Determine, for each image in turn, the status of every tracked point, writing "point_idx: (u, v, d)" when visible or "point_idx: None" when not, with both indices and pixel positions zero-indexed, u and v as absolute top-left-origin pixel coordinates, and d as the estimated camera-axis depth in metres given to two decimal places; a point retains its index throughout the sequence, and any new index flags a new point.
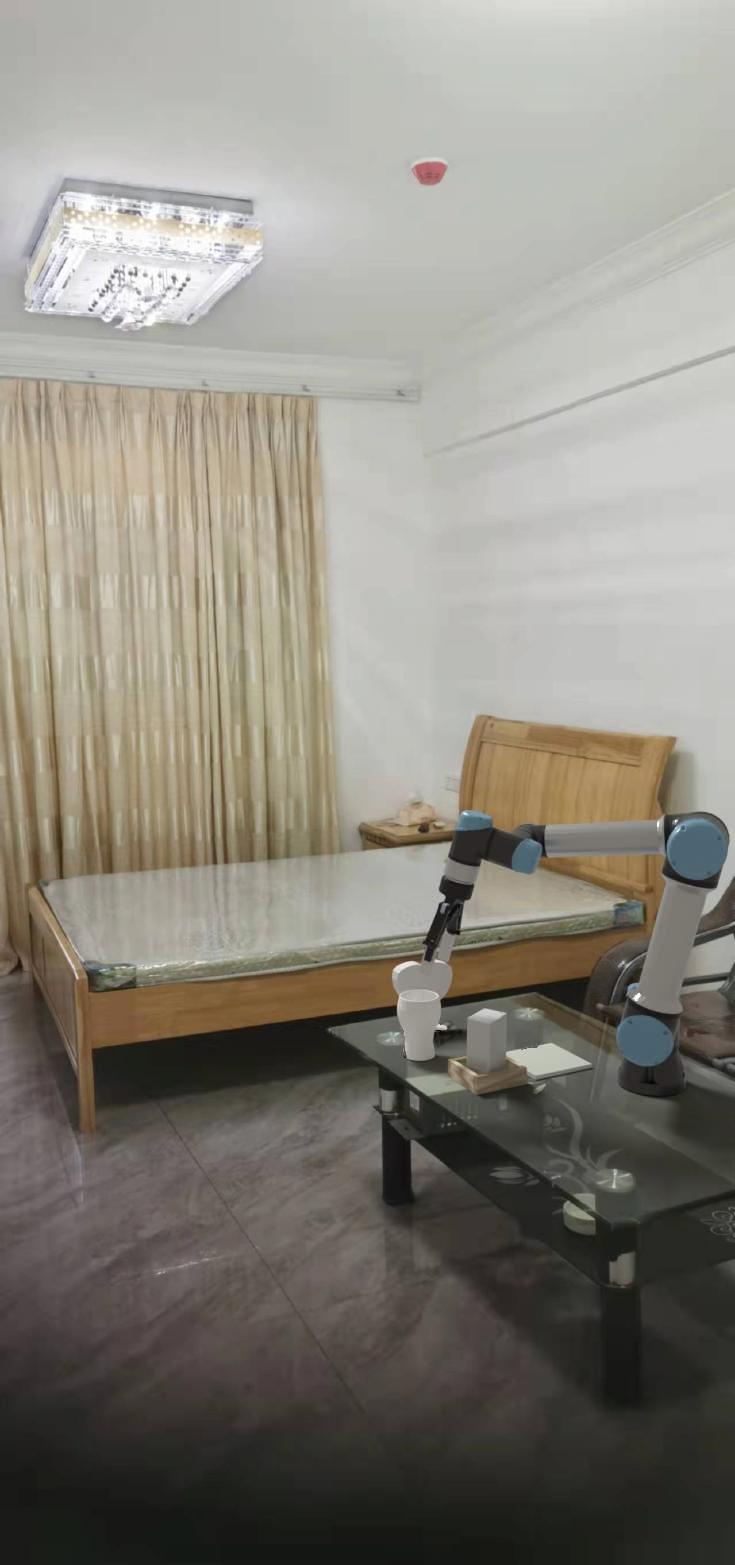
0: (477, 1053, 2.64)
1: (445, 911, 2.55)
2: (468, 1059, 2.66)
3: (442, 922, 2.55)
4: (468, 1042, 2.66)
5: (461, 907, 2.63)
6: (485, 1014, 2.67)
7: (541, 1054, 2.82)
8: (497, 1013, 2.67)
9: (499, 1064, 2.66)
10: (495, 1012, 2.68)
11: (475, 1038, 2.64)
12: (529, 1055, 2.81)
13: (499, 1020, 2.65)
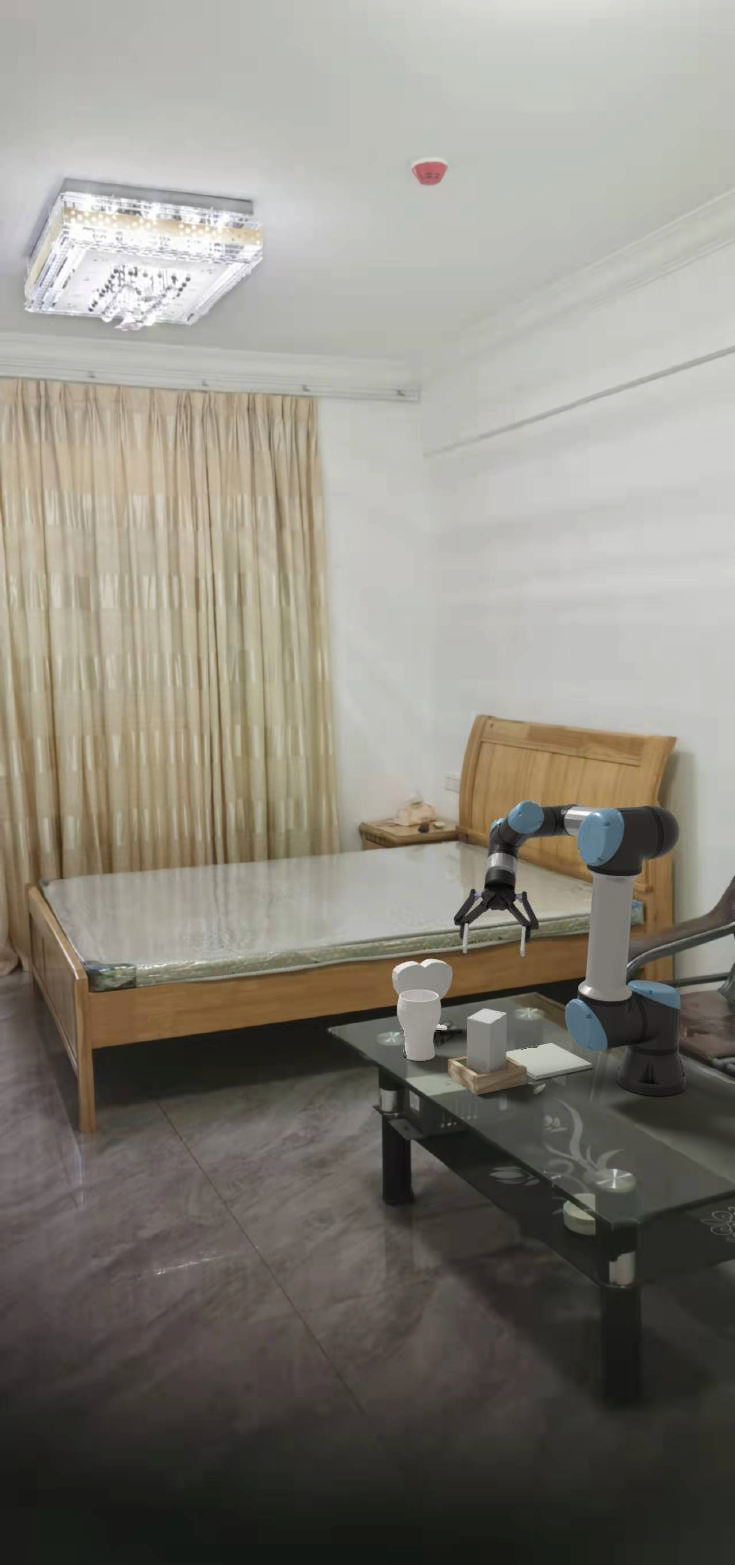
0: (477, 1053, 2.64)
1: None
2: (468, 1059, 2.66)
3: None
4: (468, 1042, 2.66)
5: (505, 894, 2.82)
6: (485, 1014, 2.67)
7: (541, 1054, 2.82)
8: (497, 1013, 2.67)
9: (499, 1064, 2.66)
10: (495, 1012, 2.68)
11: (475, 1038, 2.64)
12: (529, 1055, 2.81)
13: (499, 1020, 2.65)
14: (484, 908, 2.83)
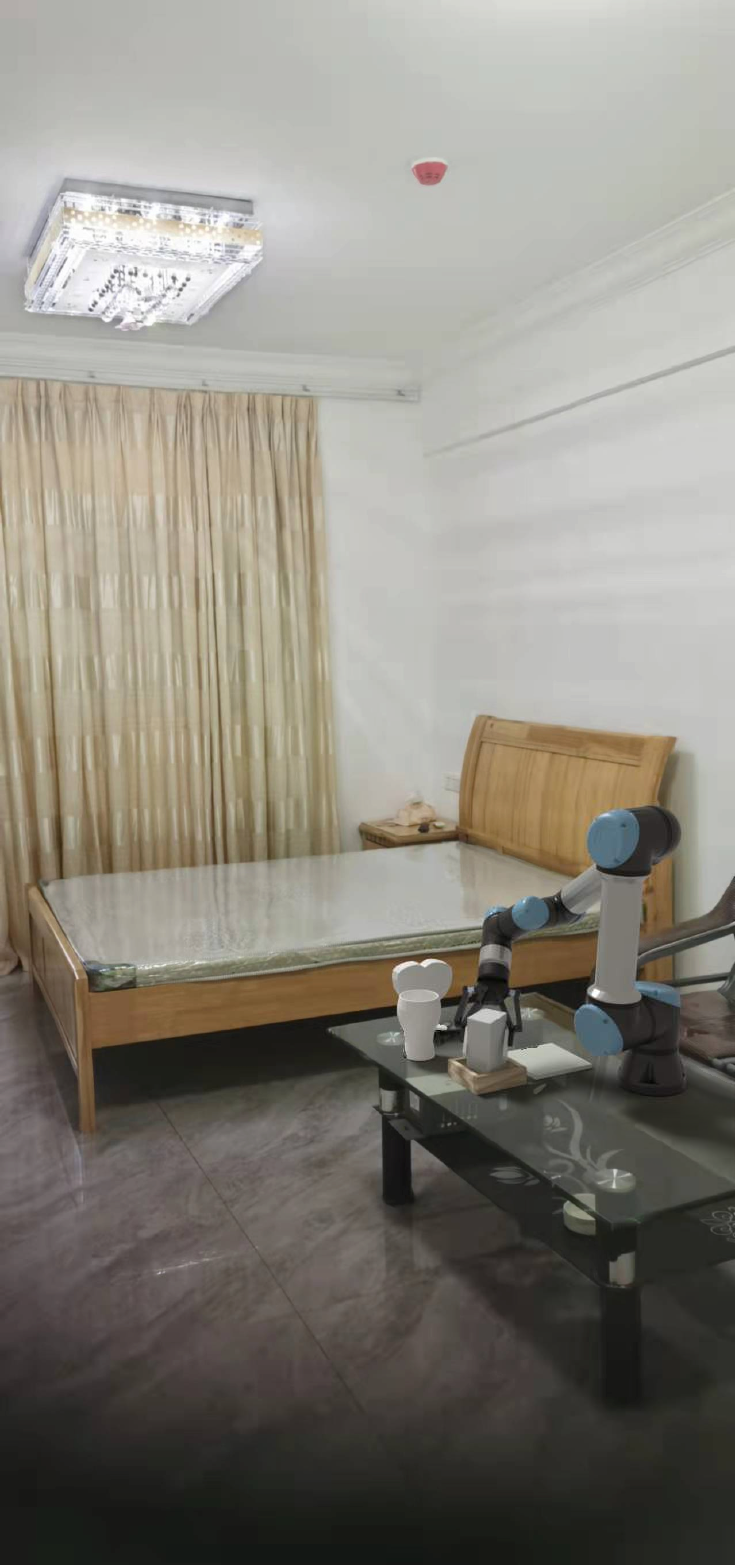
0: (477, 1053, 2.64)
1: None
2: (468, 1059, 2.66)
3: None
4: (468, 1042, 2.65)
5: (498, 989, 2.72)
6: (485, 1014, 2.67)
7: (541, 1054, 2.82)
8: (497, 1013, 2.67)
9: (500, 1063, 2.67)
10: (495, 1012, 2.68)
11: (475, 1038, 2.64)
12: (529, 1055, 2.81)
13: (499, 1020, 2.65)
14: (480, 1005, 2.72)
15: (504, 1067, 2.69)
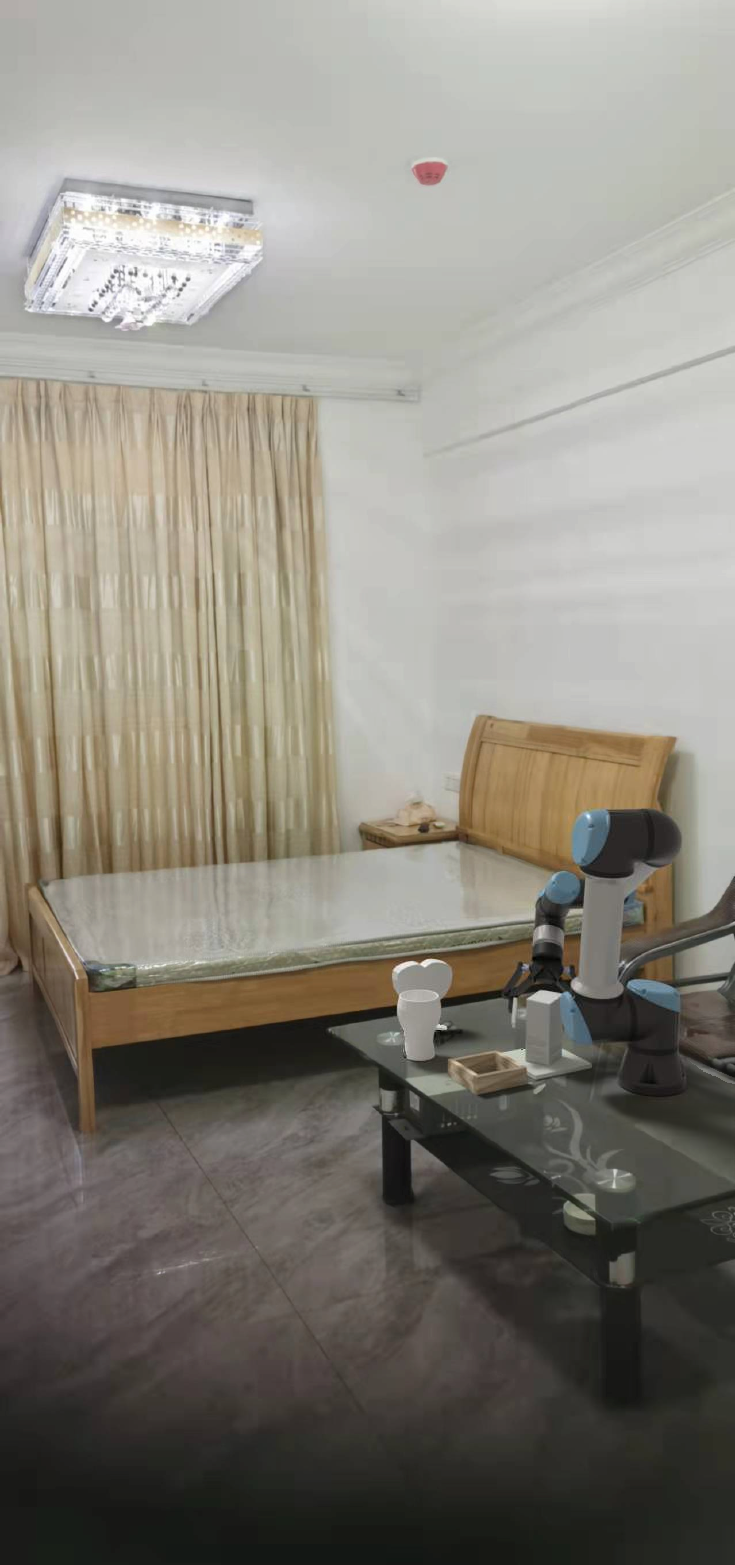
0: (536, 1032, 2.75)
1: None
2: (527, 1039, 2.76)
3: None
4: (527, 1022, 2.76)
5: (553, 967, 2.82)
6: (543, 995, 2.77)
7: None
8: (554, 994, 2.78)
9: (557, 1043, 2.77)
10: (552, 993, 2.79)
11: (535, 1018, 2.74)
12: None
13: (557, 1000, 2.75)
14: (532, 981, 2.83)
15: (560, 1046, 2.79)
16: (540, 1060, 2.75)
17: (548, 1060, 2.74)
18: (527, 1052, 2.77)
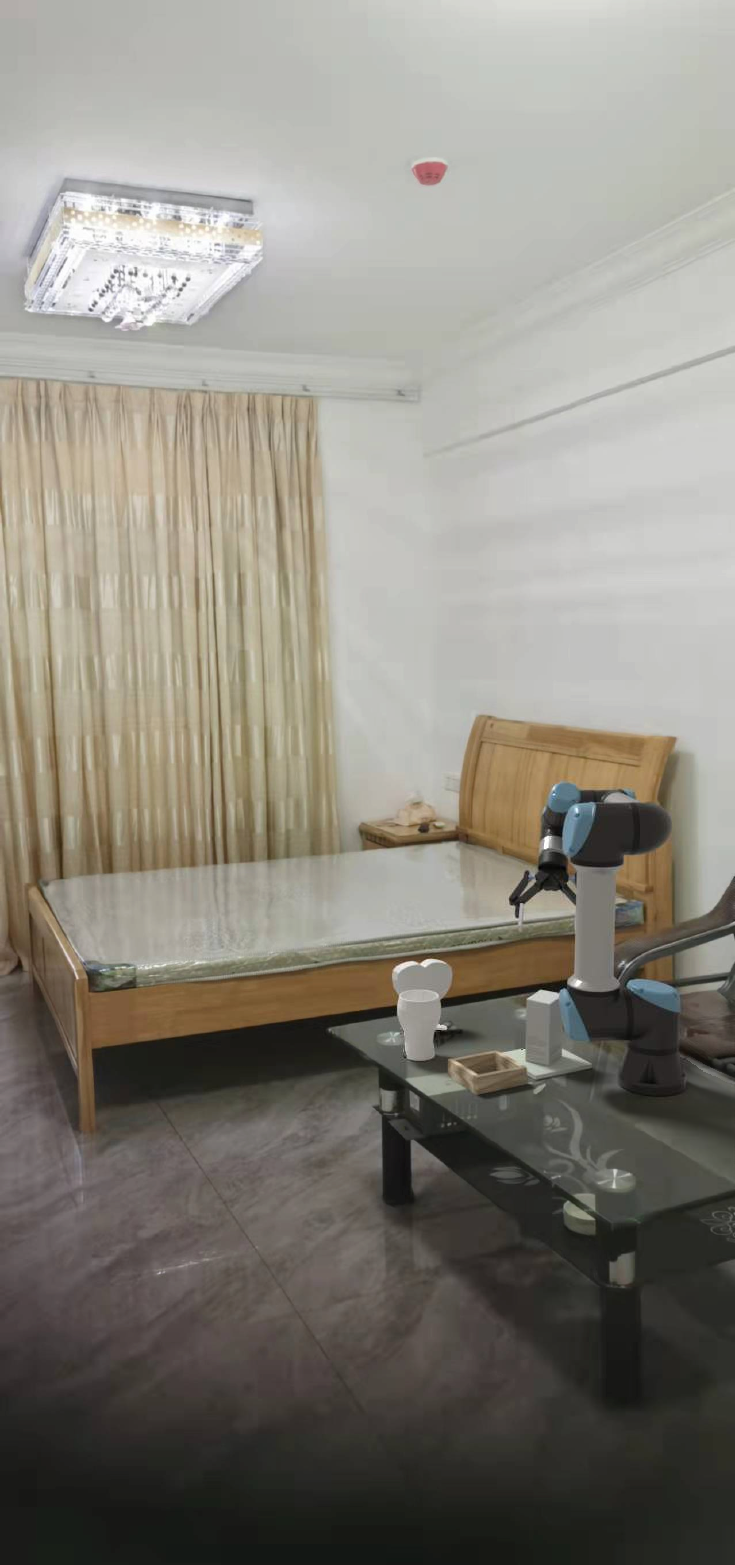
0: (536, 1032, 2.75)
1: None
2: (527, 1039, 2.76)
3: None
4: (527, 1022, 2.76)
5: (558, 875, 2.92)
6: (543, 995, 2.77)
7: None
8: (554, 994, 2.78)
9: (557, 1043, 2.77)
10: (552, 993, 2.79)
11: (535, 1018, 2.74)
12: None
13: (557, 1000, 2.75)
14: (538, 889, 2.93)
15: (560, 1046, 2.79)
16: (540, 1060, 2.75)
17: (548, 1060, 2.74)
18: (527, 1052, 2.77)
